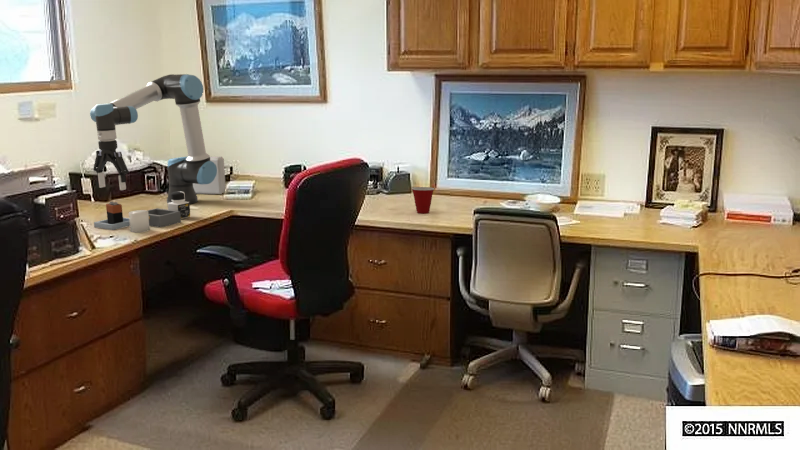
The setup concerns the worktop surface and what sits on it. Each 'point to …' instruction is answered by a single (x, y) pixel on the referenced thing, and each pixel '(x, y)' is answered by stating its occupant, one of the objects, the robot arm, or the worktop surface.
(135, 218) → the white rounded cylinder
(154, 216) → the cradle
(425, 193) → the plastic cup
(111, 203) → the battery
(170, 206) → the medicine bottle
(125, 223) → the tray
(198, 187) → the bevelled white case
